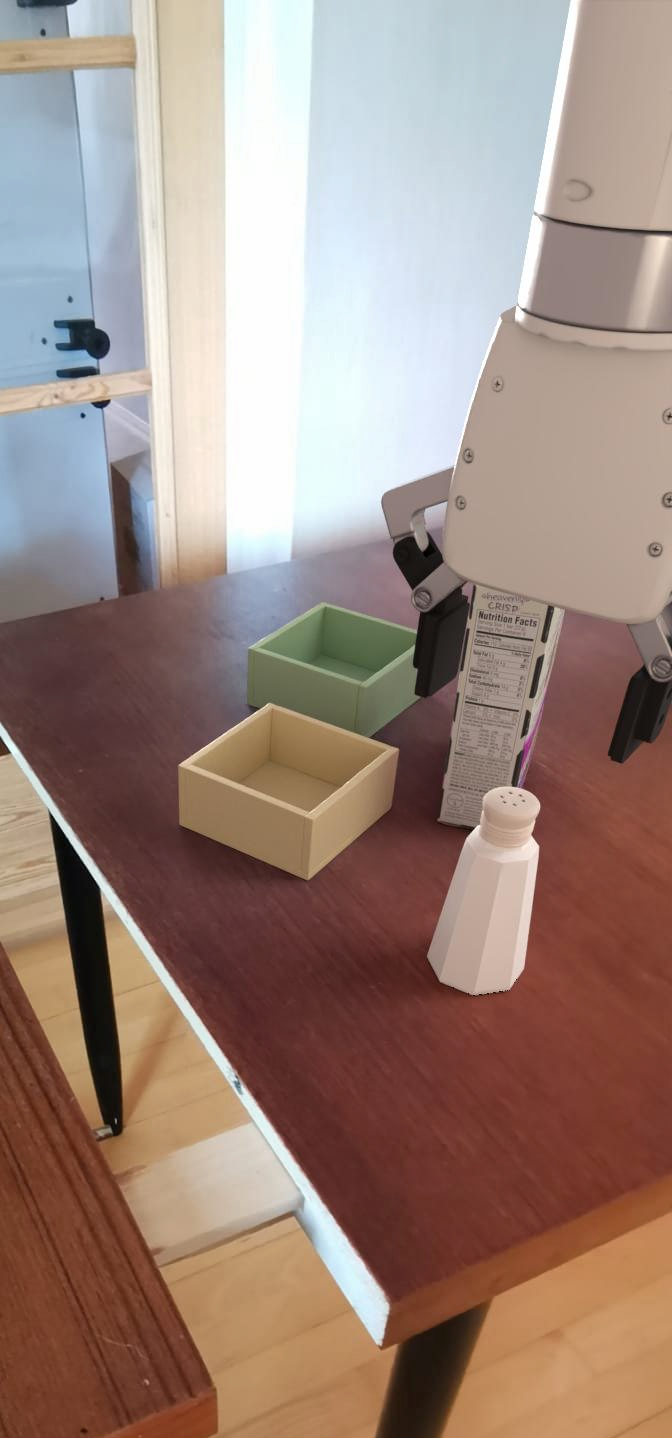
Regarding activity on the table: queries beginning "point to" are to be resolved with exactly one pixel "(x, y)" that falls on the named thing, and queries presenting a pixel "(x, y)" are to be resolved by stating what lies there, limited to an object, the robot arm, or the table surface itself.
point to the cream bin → (287, 789)
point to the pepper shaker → (490, 898)
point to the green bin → (336, 669)
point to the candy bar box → (497, 700)
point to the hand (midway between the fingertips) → (527, 717)
